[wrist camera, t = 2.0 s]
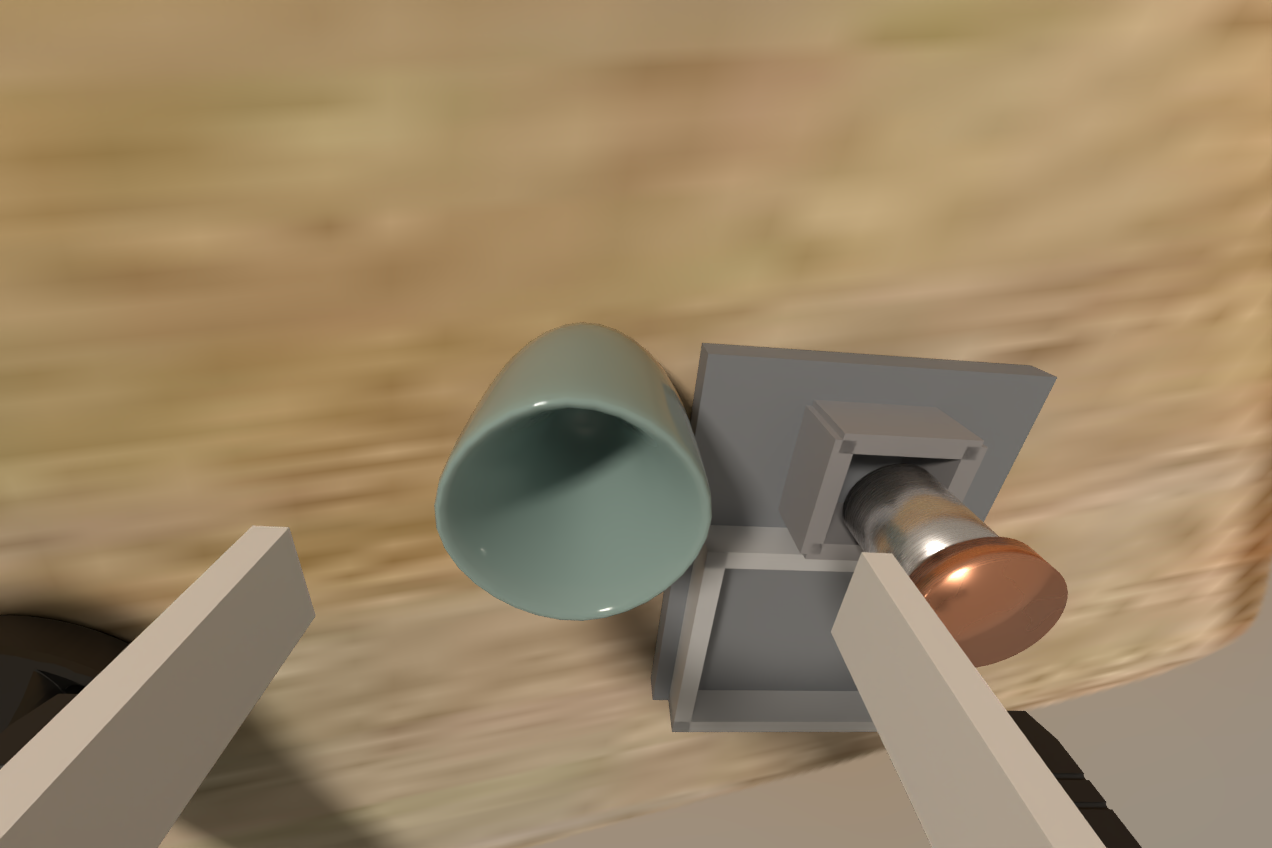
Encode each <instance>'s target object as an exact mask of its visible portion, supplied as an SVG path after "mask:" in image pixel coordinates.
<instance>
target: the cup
mask: <svg viewBox="0 0 1272 848" xmlns="http://www.w3.org/2000/svg"><path fill="white" fill-rule="evenodd" d="M434 507H435V519H436V528H437V530H438V533H439V535H440V538H441V540H442V543H443V545H444V548H445V549H446V551H447V552H448V554H449V555H450V556H451V558H452V559H453V561H454V562H455V564H456V565H457V566H458V568H459V569H460V570H461V571H463V572H464V573H465V574H466V575H467V576H468V577H469V578H470V579H471V580H472V581H473V582H474V583H475V584H477V585H478V586H479V587H481V588H482V589H484V590H485V591H487V592H488V593H489V594H491V595H492V596H494V597H496V598H497V599H499V600H501V601H503V602H505V603H507V604H509V605H511V606H513V607H515V608H518V609H521V610H524V611H527V612H529V613H532V614H535V615H539V616H544V617H549V618H554V619H559V620H579V621H584V620H592V619H599V618H606V617H609V616H613V615H616V614H619V613H623V612H626V611H629V610H631V609H633V608H635V607H637V606H639V605H641V604H644V603H646V602H648V601H649V600H651V599H652V598H654V597H655V596H657V595H658V594H660V593H662V592H663V591H665V590H666V589H667V588H668V587H670V586H671V585H672V584H673V583H674V582H675V581H676V580H677V579H679V578H680V577H681V576H682V575H683V574H684V572H685V571H686V570H687V569H688V568H689V566H690V565H691V564H692V563H693V561H694V560H695V559H696V558H697V556H698V554H699V552H700V551H701V549H702V547H703V545H704V543H705V541H706V539H707V537H708V532H709V528H710V524H711V520H712V501H711V489H710V483H709V480H708V476H707V473H706V469H705V466H704V463H703V460H702V457H701V454H700V451H699V448H698V445H697V442H696V439H695V436H694V433H693V430H692V427H691V425H690V422H689V419H688V416H687V413H686V411H685V408H684V406H683V403H682V401H681V399H680V396H679V394H678V392H677V391H676V389H675V387H674V385H673V384H672V382H671V380H670V379H669V377H668V375H667V374H666V372H665V370H664V369H663V368H662V366H661V365H660V364H659V363H658V362H657V361H656V359H655V358H654V357H653V356H652V355H651V354H650V353H649V352H648V351H647V350H646V349H645V348H644V347H642V346H641V345H640V344H639V343H637V342H636V341H635V340H633V339H632V338H631V337H629V336H627V335H625V334H624V333H622V332H620V331H618V330H616V329H613V328H610V327H607V326H604V325H601V324H595V323H585V322H580V323H572V324H565V325H562V326H560V327H557V328H554V329H552V330H549V331H547V332H545V333H543V334H542V335H540V336H538V337H537V338H535V339H533V340H532V341H530V342H529V343H528V344H527V345H525V346H524V347H523V348H522V349H521V350H520V351H519V352H518V353H517V354H515V355H514V356H513V357H512V358H511V359H510V360H509V361H508V362H507V364H506V365H505V366H504V367H503V369H502V370H501V371H500V373H499V374H498V375H497V376H496V378H495V379H494V380H493V382H492V383H491V385H490V386H489V387H488V389H487V390H486V392H485V393H484V395H483V396H482V398H481V399H480V401H479V403H478V404H477V406H476V408H475V409H474V411H473V413H472V415H471V416H470V418H469V420H468V422H467V423H466V425H465V427H464V429H463V430H462V432H461V434H460V436H459V438H458V440H457V441H456V444H455V446H454V448H453V450H452V452H451V454H450V456H449V458H448V460H447V462H446V464H445V467H444V469H443V471H442V473H441V476H440V479H439V484H438V489H437V494H436V499H435V505H434Z"/></svg>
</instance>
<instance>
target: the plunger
mask: <svg viewBox="0 0 1272 848" xmlns="http://www.w3.org/2000/svg"><path fill="white" fill-rule="evenodd" d="M842 512H843V519H844V522H845V525H846V526H847V528H848V529H849V531H850V532H851V534H852V535H853V536H854V538H855V539H856V541H857V542H858V544H859V545H860V547H861V548H862V550H863V551H864V552H869V553H892V554H893V555H894V557H895V558H896V560H897V561H898V562H899V564H900V565H901V566H902V568H903V569H904V571H905V572H906V573H907V575H908V576H909V577H910V579H911V580H912V582H913V583H914V584H915V586H916V587H917V588H918V590H919V591H920V593H921V594H922V595H923V597H924V598H925V599H926V601H927V602H928V603H929V605H930V606H931V608H932V609H933V610H934V612H935V613H936V614H937V616H938V617H939V619H940V620H941V621H942V623H943V624H944V625H945V627H946V628H947V630H948V631H949V632H950V634H951V635H952V636H953V638H954V639H955V641H956V642H957V643H958V645H959V646H960V647H961V649H962V650H963V652H964V653H965V654H966V656H967V657H968V658H969V660H970V661H971V663H972V664H973V665H974V667H981V666H986V665H989V664H993V663H997V662H999V661H1002V660H1005V659H1007V658H1010V657H1012V656H1014V655H1016V654H1018V653H1020V652H1022V651H1024V650H1025V649H1027V648H1028V647H1030V646H1032V645H1033V644H1034V643H1036V642H1037V641H1038V640H1040V639H1041V638H1042V637H1043V636H1044V635H1045V634H1046V633H1048V631H1049V630H1050V629H1051V628H1052V627H1053V626H1054V625H1055V623H1056V622H1057V621H1058V620H1059V618H1060V616H1061V614H1062V613H1063V610H1064V608H1065V606H1066V602H1067V594H1068V591H1067V585H1066V582H1065V580H1064V578H1063V577H1062V576H1061V574H1060V573H1059V572H1058V571H1057V570H1055V569H1054V568H1053V567H1052V566H1051V565H1050V564H1049V563H1048V562H1046V561H1045V560H1044V559H1043V558H1042V557H1041V556H1040V555H1038V554H1037V553H1036V552H1035V551H1034V550H1033V549H1032V548H1030V547H1029V546H1028V545H1026V544H1024V543H1023V542H1020V541H1018V540H1015V539H1011V538H1005V537H999V536H998V535H997V534H996V533H995V532H994V531H992V530H991V529H990V528H989V527H988V526H987V525H986V524H985V523H984V522H983V521H982V520H981V519H979V518H978V517H977V516H976V515H975V514H974V513H973V512H972V511H971V510H970V509H969V508H967V507H966V506H965V505H964V504H963V503H962V502H961V501H960V500H959V499H958V498H957V497H956V496H954V495H953V494H952V493H951V492H950V491H949V490H948V489H947V488H946V487H945V486H944V485H942V484H941V483H940V482H939V481H938V480H937V479H936V478H935V477H934V476H933V475H932V474H931V473H929V472H928V471H927V470H926V469H924V468H922V467H920V466H918V465H914V464H909V463H897V464H890V465H886V466H883V467H880V468H878V469H876V470H873V471H872V472H870V473H868V474H867V475H865V476H864V477H862V478H861V479H860V480H859V481H858V482H857V483H856V484H855V485H854V486H853V487H852V489H851V490H850V491H849V493H848V495H847V496H846V499H845V501H844V505H843V511H842Z"/></svg>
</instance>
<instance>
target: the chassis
mask: <svg viewBox="0 0 1272 848" xmlns="http://www.w3.org/2000/svg"><path fill="white" fill-rule="evenodd" d="M1056 379H1057V377H1056V376H1053V375H1051V374H1049V373H1047V372H1044V371H1042V370H1040V369H1038V368H1035V367H1033V366H1028V365H1014V364H999V363H985V362H970V361H956V360H941V359H927V358H912V357H898V356H883V355H869V354H855V353H840V352H826V351H811V350H797V349H782V348H768V347H753V346H739V345H724V344H710V343H702V347H701V354H700V360H699V367H698V373H697V380H696V387H695V393H694V400H693V406H692V413H691V419H690V425H691V427H692V430H693V433H694V436H695V439H696V442H697V445H698V448H699V451H700V454H701V457H702V460H703V463H704V466H705V469H706V473H707V476H708V480H709V483H710V489H711V501H712V520H711V524H710V528H709V532H708V537H707V539H706V541H705V543H704V545H703V547H702V549H701V551H700V552H699V554H698V556H697V558H696V559H695V560H694V561H693V563H692V564H691V565H690V566H689V568H688V569H687V570H686V571H685V572H684V574H683V575H682V576H681V577H680V578H679V579H677V580H676V581H675V582H674V583H673V584H672V585H671V586H670V587H668V588H667V589H666V590H665V591H664V596H663V602H662V609H661V616H660V622H659V629H658V635H657V642H656V648H655V655H654V661H653V668H652V674H651V685H652V696H653V700H668V701H669V709H670V718H671V727H672V732H877V729H876V727H875V725H874V723H873V721H872V719H871V717H870V715H869V712H868V710H867V708H866V706H865V704H864V702H863V700H862V697H861V695H860V693H859V691H858V689H857V687H856V685H855V683H854V680H853V678H852V676H851V674H850V672H849V670H848V668H847V665H846V663H845V661H844V659H843V657H842V655H841V653H840V651H839V648H838V646H837V644H836V642H835V640H834V638H833V636H832V633H831V630H832V627H833V625H834V622H835V620H836V617H837V614H838V612H839V609H840V607H841V604H842V602H843V599H844V596H845V594H846V591H847V589H848V586H849V583H850V581H851V578H852V576H853V573H854V570H855V568H856V565H857V563H858V560H859V557H860V555H861V552H864V551H863V550H862V548H861V547H860V545H859V544H858V542H857V541H856V539H855V538H854V536H853V535H852V534H851V532H850V531H849V529H848V528H847V526H846V525H845V522H844V519H843V512H842V511H843V505H844V501H845V499H846V496H847V495H848V493H849V491H850V490H851V489H852V487H853V486H854V485H855V484H856V483H857V482H858V481H859V480H860V479H861V478H862V477H864V476H865V475H867V474H868V473H870V472H872V471H873V470H876V469H878V468H880V467H883V466H886V465H890V464H897V463H909V464H914V465H918V466H920V467H922V468H924V469H926V470H927V471H928V472H929V473H931V474H932V475H933V476H934V477H935V478H936V479H937V480H938V481H939V482H940V483H941V484H942V485H944V486H945V487H946V488H947V489H948V490H949V491H950V492H951V493H952V494H953V495H954V496H956V497H957V498H958V499H959V500H960V501H961V502H962V503H963V504H964V505H965V506H966V507H967V508H969V509H970V510H971V511H972V512H973V513H974V514H975V515H976V516H977V517H978V518H979V519H981V520H982V521H983V522H984V520H985V518H986V516H987V514H988V512H989V510H990V508H991V506H992V505H993V503H994V501H995V499H996V497H997V495H998V493H999V491H1000V489H1001V487H1002V485H1003V483H1004V481H1005V479H1006V477H1007V475H1008V473H1009V471H1010V469H1011V467H1012V465H1013V463H1014V461H1015V459H1016V457H1017V455H1018V453H1019V451H1020V450H1021V448H1022V446H1023V444H1024V442H1025V440H1026V438H1027V436H1028V434H1029V432H1030V430H1031V428H1032V426H1033V424H1034V422H1035V420H1036V418H1037V416H1038V414H1039V412H1040V410H1041V408H1042V406H1043V404H1044V402H1045V400H1046V398H1047V397H1048V395H1049V393H1050V391H1051V389H1052V387H1053V385H1054V383H1055V381H1056Z"/></svg>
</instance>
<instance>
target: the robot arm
mask: <svg viewBox="0 0 1272 848" xmlns="http://www.w3.org/2000/svg"><path fill="white" fill-rule="evenodd" d="M314 617H315V612H314V609H313V606H312V602H311V599H310V596H309V592H308V589H307V585H306V582H305V579H304V575H303V572H302V569H301V565H300V562H299V559H298V555H297V552H296V549H295V545H294V542H293V539H292V535H291V532H290V529H289V527H271V526H252V527H251V528H250V529H249V530H248V531H247V532H246V533H245V534H244V535H243V536H241V537H240V538H239V539H238V540H237V541H236V542H235V543H234V544H233V545H232V546H231V547H230V548H229V549H228V550H227V551H226V552H225V553H224V554H223V555H222V556H221V557H220V558H219V559H218V560H217V561H216V562H215V563H214V564H212V565H211V566H210V567H209V568H208V569H207V570H206V571H205V572H204V573H203V574H202V575H201V576H200V577H199V578H198V579H197V580H196V581H195V582H194V583H193V584H192V585H191V586H190V587H189V588H188V589H187V590H186V591H185V592H183V593H182V594H181V595H180V596H179V597H178V598H177V599H176V600H175V601H174V602H173V603H172V604H171V605H170V606H169V607H168V608H167V609H166V610H165V611H164V612H163V613H162V614H161V615H160V616H159V617H158V618H157V619H156V620H154V621H153V622H152V623H151V624H150V625H149V626H148V627H147V628H146V629H145V630H144V631H143V632H142V633H141V634H140V635H139V636H138V637H137V638H136V639H135V640H134V641H133V642H132V643H131V644H128V643H126V642H124V641H121V640H119V639H117V638H114V637H112V636H109V635H107V634H104V633H101V632H98V631H95V630H92V629H89V628H86V627H82V626H79V625H75V624H71V623H66V622H62V621H57V620H51V619H46V618H38V617H30V616H16V615H0V848H158V846H159V845H160V844H161V842H162V841H163V839H164V838H165V836H166V835H167V833H168V832H169V830H170V829H171V827H172V826H173V824H174V823H175V822H176V820H177V819H178V817H179V816H180V814H181V813H182V811H183V810H184V808H185V807H186V805H187V804H188V802H189V801H190V799H191V798H192V797H193V795H194V794H195V792H196V791H197V789H198V788H199V786H200V785H201V783H202V782H203V780H204V779H205V777H206V776H207V775H208V773H209V772H210V770H211V769H212V767H213V766H214V764H215V763H216V761H217V760H218V758H219V757H220V755H221V754H222V753H223V751H224V750H225V748H226V747H227V745H228V744H229V742H230V741H231V739H232V738H233V736H234V735H235V733H236V732H237V731H238V729H239V728H240V726H241V725H242V723H243V722H244V720H245V719H246V717H247V716H248V714H249V713H250V711H251V710H252V708H253V707H254V706H255V704H256V703H257V701H258V700H259V698H260V697H261V695H262V694H263V692H264V691H265V689H266V688H267V686H268V685H269V684H270V682H271V681H272V679H273V678H274V676H275V675H276V673H277V672H278V670H279V669H280V667H281V666H282V664H283V663H284V662H285V660H286V659H287V657H288V656H289V654H290V653H291V651H292V650H293V648H294V647H295V645H296V644H297V642H298V641H299V640H300V638H301V637H302V635H303V634H304V632H305V631H306V629H307V628H308V626H309V625H310V623H311V622H312V620H313V619H314ZM831 633H832V636H833V638H834V640H835V642H836V644H837V646H838V648H839V651H840V653H841V655H842V657H843V659H844V661H845V663H846V665H847V668H848V670H849V672H850V674H851V676H852V678H853V680H854V683H855V685H856V687H857V689H858V691H859V693H860V695H861V697H862V700H863V702H864V704H865V706H866V708H867V710H868V712H869V715H870V717H871V719H872V721H873V723H874V725H875V727H876V729H877V732H878V734H879V736H880V738H881V740H882V742H883V744H884V747H885V749H886V751H887V753H888V755H889V757H890V759H891V761H892V764H893V766H894V768H895V770H896V772H897V774H898V776H899V778H900V781H901V783H902V785H903V787H904V789H905V791H906V793H907V795H908V798H909V800H910V802H911V804H912V806H913V808H914V810H915V813H916V815H917V817H918V819H919V821H920V823H921V825H922V827H923V830H924V832H925V834H926V836H927V838H928V840H929V842H930V845H931V847H932V848H1141V846H1140V845H1139V843H1138V842H1137V841H1136V840H1135V839H1134V837H1133V836H1132V835H1131V833H1130V832H1129V831H1128V829H1127V828H1126V827H1125V825H1124V824H1123V823H1122V822H1121V821H1120V819H1119V818H1118V817H1117V815H1116V814H1115V813H1114V811H1113V810H1110V809H1108V808H1107V806H1106V801H1105V800H1104V799H1103V797H1102V796H1101V795H1100V793H1099V792H1098V791H1097V790H1096V788H1095V787H1094V786H1093V785H1092V783H1091V782H1090V781H1089V780H1086V779H1085V778H1084V773H1083V772H1082V770H1081V769H1080V768H1079V767H1078V765H1077V764H1076V763H1075V762H1074V760H1073V759H1072V758H1071V756H1070V755H1069V754H1068V753H1067V751H1066V750H1065V749H1064V747H1063V746H1062V745H1061V744H1060V742H1059V741H1058V740H1057V739H1056V738H1055V737H1054V736H1053V735H1052V734H1050V733H1049V732H1048V731H1047V730H1046V729H1045V728H1044V727H1043V726H1041V725H1040V724H1039V723H1038V722H1037V721H1036V720H1035V719H1033V718H1032V717H1031V716H1030V715H1029V714H1028V713H1027V712H1026V711H1006V709H1005V708H1004V707H1003V705H1002V704H1001V702H1000V701H999V700H998V698H997V697H996V696H995V694H994V693H993V691H992V690H991V689H990V687H989V686H988V685H987V683H986V682H985V680H984V679H983V678H982V676H981V675H980V674H979V672H978V671H977V669H976V668H975V667H974V665H973V664H972V663H971V661H970V660H969V658H968V657H967V656H966V654H965V653H964V652H963V650H962V649H961V647H960V646H959V645H958V643H957V642H956V641H955V639H954V638H953V636H952V635H951V634H950V632H949V631H948V630H947V628H946V627H945V625H944V624H943V623H942V621H941V620H940V619H939V617H938V616H937V614H936V613H935V612H934V610H933V609H932V608H931V606H930V605H929V603H928V602H927V601H926V599H925V598H924V597H923V595H922V594H921V593H920V591H919V590H918V588H917V587H916V586H915V584H914V583H913V582H912V580H911V579H910V577H909V576H908V575H907V573H906V572H905V571H904V569H903V568H902V566H901V565H900V564H899V562H898V561H897V560H896V558H895V557H894V555H893V554H892V553H869V552H861V555H860V557H859V560H858V563H857V565H856V568H855V570H854V573H853V576H852V578H851V581H850V583H849V586H848V589H847V591H846V594H845V596H844V599H843V602H842V604H841V607H840V609H839V612H838V614H837V617H836V620H835V622H834V625H833V627H832V630H831Z"/></svg>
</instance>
